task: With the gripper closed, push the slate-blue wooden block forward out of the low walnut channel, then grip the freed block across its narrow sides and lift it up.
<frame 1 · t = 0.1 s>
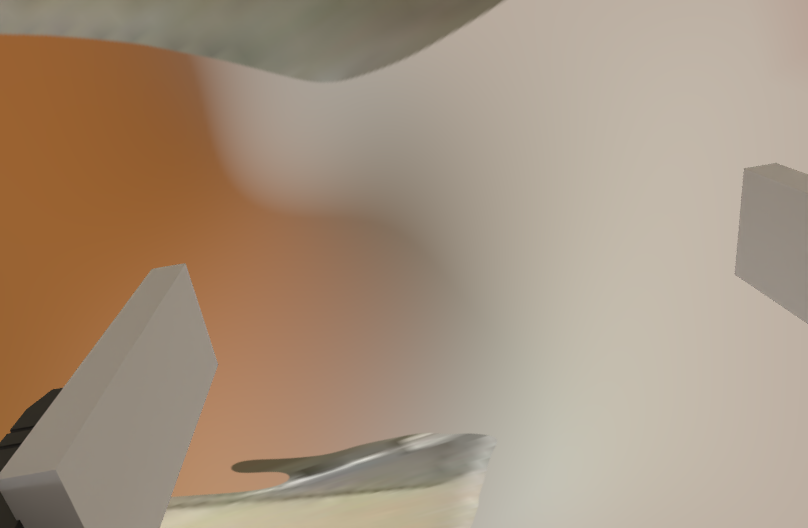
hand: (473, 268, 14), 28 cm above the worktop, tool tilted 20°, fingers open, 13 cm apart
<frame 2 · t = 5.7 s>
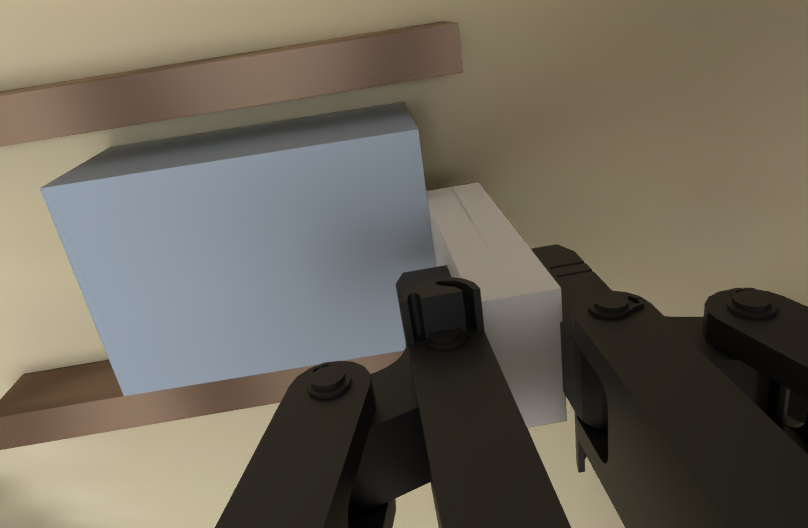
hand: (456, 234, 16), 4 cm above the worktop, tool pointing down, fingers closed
walnut channel: (219, 231, 19), on the worktop
slate block: (279, 215, 19), on the worktop
coffee jar: (773, 437, 25), on the worktop
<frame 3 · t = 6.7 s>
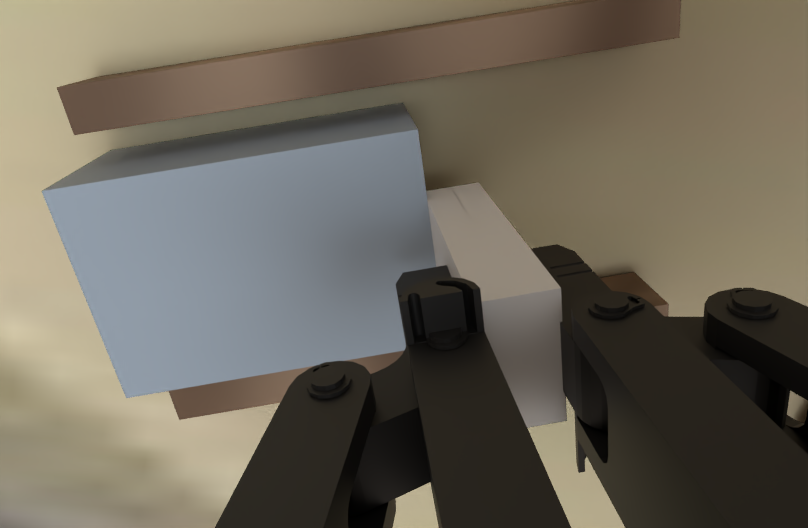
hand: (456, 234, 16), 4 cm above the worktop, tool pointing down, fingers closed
walnut channel: (395, 202, 19), on the worktop
slate block: (280, 217, 19), on the worktop, touching gripper
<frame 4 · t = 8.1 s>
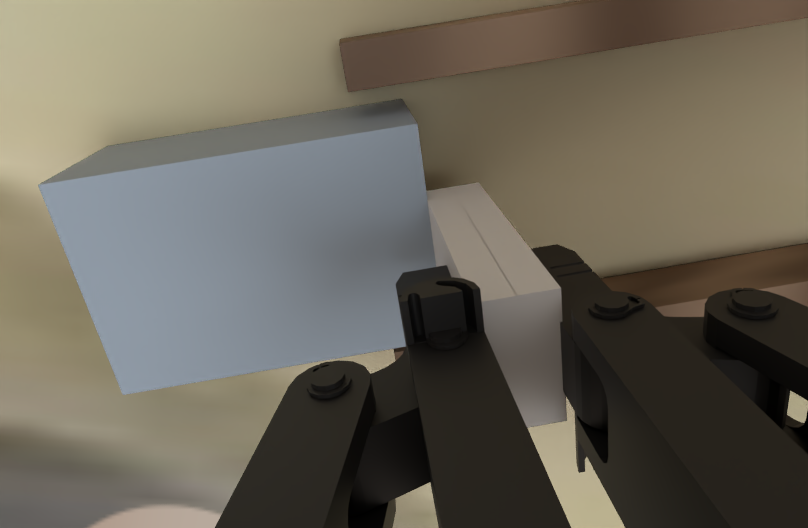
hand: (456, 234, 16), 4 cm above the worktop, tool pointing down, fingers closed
walnut channel: (610, 167, 19), on the worktop
slate block: (278, 213, 19), on the worktop, touching gripper
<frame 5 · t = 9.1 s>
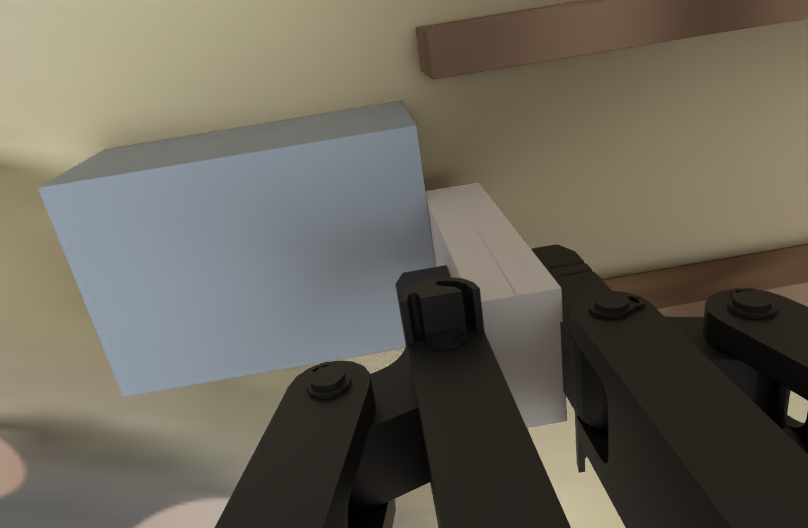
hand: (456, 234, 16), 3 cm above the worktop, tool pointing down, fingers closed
walnut channel: (677, 157, 19), on the worktop
slate block: (277, 215, 19), on the worktop
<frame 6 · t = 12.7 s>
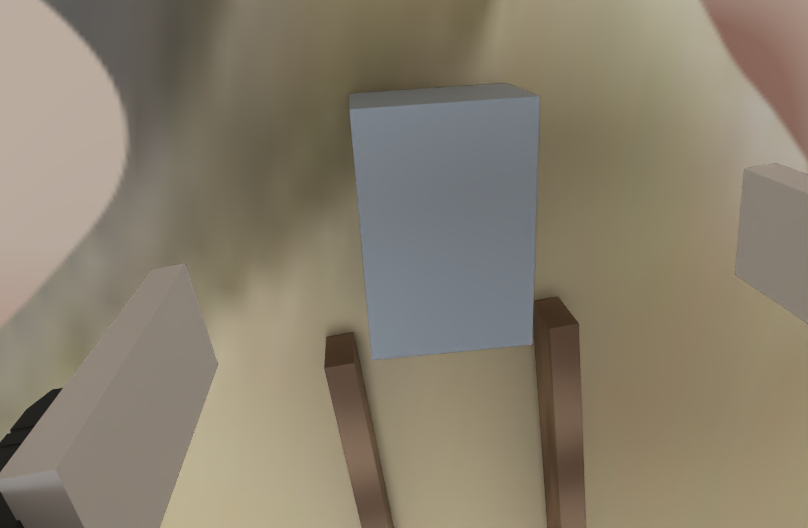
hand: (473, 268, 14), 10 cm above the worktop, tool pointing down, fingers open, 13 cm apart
walnut channel: (462, 458, 29), on the worktop
slate block: (431, 201, 24), on the worktop
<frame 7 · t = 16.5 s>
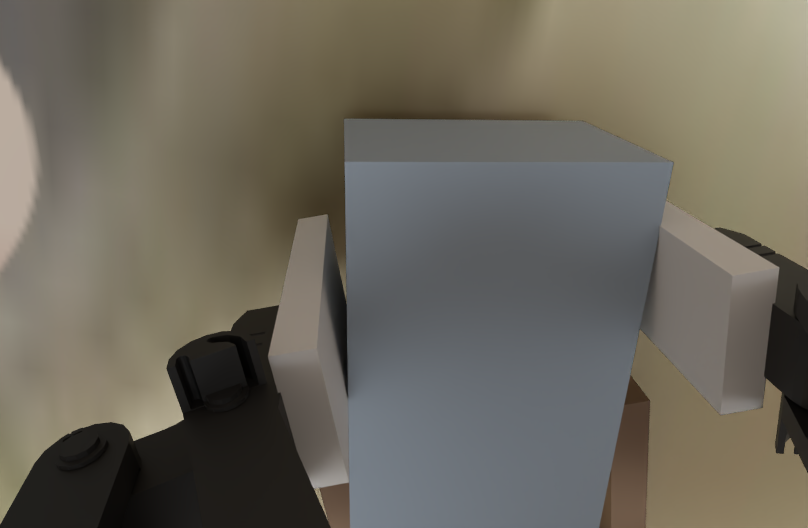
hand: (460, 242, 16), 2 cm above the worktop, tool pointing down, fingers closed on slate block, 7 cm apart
slate block: (455, 284, 16), point 2 cm above the worktop, touching gripper
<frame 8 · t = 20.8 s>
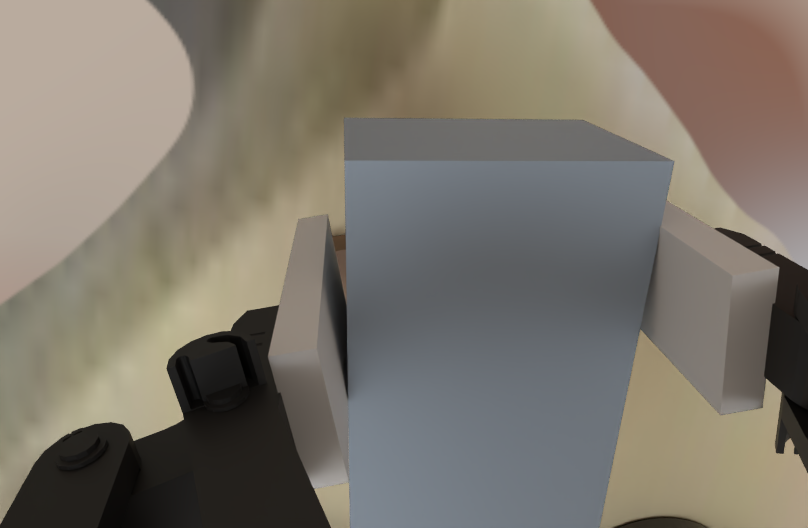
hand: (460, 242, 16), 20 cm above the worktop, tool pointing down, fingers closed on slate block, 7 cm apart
walnut channel: (430, 334, 40), on the worktop
slate block: (455, 283, 16), point 20 cm above the worktop, touching gripper
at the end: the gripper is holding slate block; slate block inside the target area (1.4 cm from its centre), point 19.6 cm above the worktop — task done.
